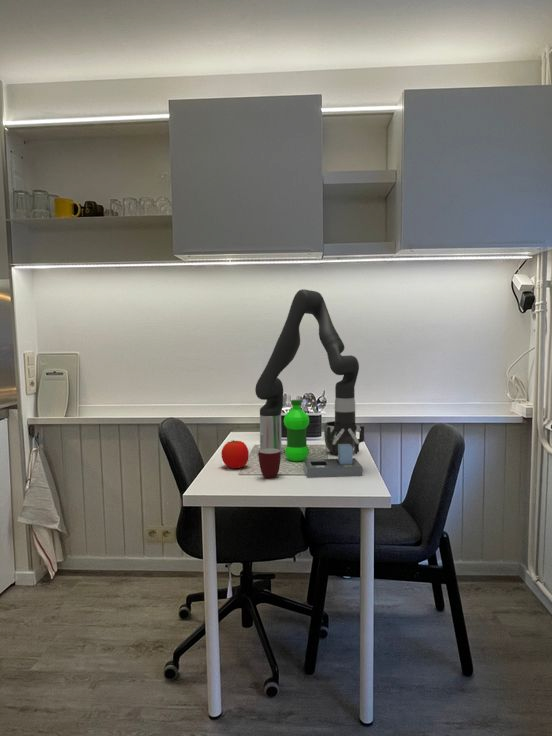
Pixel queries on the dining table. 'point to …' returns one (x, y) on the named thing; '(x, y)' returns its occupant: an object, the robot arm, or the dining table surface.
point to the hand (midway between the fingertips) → (345, 453)
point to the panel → (330, 468)
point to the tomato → (235, 454)
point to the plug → (345, 454)
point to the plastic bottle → (296, 432)
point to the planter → (340, 441)
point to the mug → (269, 462)
